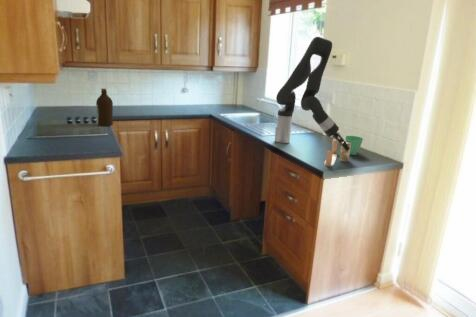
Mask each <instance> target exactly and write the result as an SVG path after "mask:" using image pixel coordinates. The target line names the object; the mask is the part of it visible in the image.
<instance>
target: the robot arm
mask: <svg viewBox="0 0 476 317" xmlns="http://www.w3.org/2000/svg"><path fill="white" fill-rule="evenodd" d="M332 49H333V43H332V41H331V40H329V39H327V38H324V37H321V36H314V37H313V39H311V41H310V43H309V45H308V47H307V49H306V51H305V52H304V54H303V55H302V58H301V59H300V61H299V62H298V64H297V65H296V66H295V68H294V69H293V71H292V72H291V75H290V77H289V78H288V79H287V81H286V82H285V83H284V85H283V86H282V87H281V88H280V89H279V90H278V92H277V94H276V98H275V99H276V103H277V104H278V105H281V106H284V107H283V108H281V109H279V110H278V111H277V120H276V121H277V122H276V127H275V133H274V134H275V135H274V142H276V143H281V144H289V143H291V142H290V141H291V132H292V121H293V114H294V111H295V105H296V93H295V91H294V90H296V89H298V88H300V87H301V86H302V85H303V84H305V82H306V81H307V82H306V88H305V90H304V91H303V95H302V97H301V100H300V107H301V108H302V110H304V111H311V112H312V119H313V120H314V121H315V122H316V124H317V125H318V126H319V128H320V129H321V130H322V132H323V133H325V136H327V137H332V139H333V140H336V141H337V142H338V144H339V145H340V146H341V145H342V146H343V147H344V148H345V150H346V151H348V150H349V149H350V148H349V147H348V145H347V144H346V140H345V139H344V137H342V135H341V133H339V130H340V127H339V126H338V125H337V124H336V122H335V121H334V120H333V118H331V117H330V116H329V114H328V113H327V112H326V111H325V110H324V107H323V105H322V103H321V102H320V100H319V98H317V97H316V95H317V94H318V92H319V91H320V89H321V88H320V87H321V83H322V78H323V76H324V72H325V70H326V67H327V65H328V64H327V63H328V62H329V58H330V57H331V56H330V55H331V52H332ZM313 55H315V56H318V57H321V59H320V61H319V63H318V65H317V66H316V67H315V68H314V69H313V70H312V66H311V59H312V57H313ZM342 142H344V143H343V144H342Z"/></svg>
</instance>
